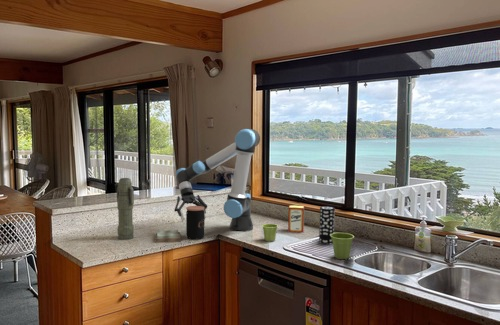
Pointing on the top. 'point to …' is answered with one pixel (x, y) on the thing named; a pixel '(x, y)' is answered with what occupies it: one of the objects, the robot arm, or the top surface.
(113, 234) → the top surface
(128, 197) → the thermos
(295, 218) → the baking soda box
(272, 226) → the plant pot
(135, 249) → the top surface
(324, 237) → the spotted tube
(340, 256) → the plant pot
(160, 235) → the plinth
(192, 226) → the coffee jar
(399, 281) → the top surface
